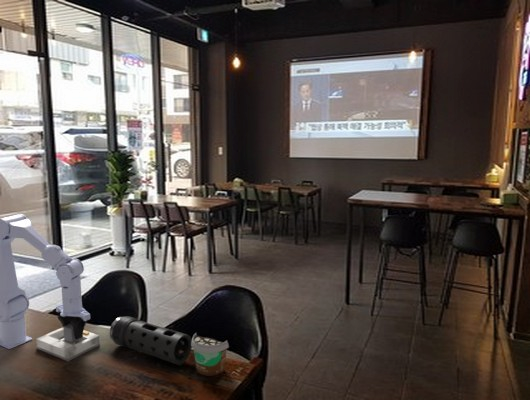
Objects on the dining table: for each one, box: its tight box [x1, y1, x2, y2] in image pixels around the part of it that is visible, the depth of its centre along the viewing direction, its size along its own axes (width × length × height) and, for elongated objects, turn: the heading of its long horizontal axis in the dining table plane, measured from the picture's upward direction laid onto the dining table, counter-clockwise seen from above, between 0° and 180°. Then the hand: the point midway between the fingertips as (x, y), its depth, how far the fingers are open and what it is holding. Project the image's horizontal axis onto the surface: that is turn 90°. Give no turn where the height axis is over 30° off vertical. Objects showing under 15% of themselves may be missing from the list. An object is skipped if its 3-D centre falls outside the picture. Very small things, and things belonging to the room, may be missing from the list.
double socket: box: [35, 326, 101, 362], centre depth 138 cm, size 16×12×4 cm
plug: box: [64, 323, 83, 345], centre depth 136 cm, size 4×4×6 cm
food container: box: [191, 332, 230, 377], centre depth 124 cm, size 12×6×10 cm, turn 65°
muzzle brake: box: [109, 315, 193, 367], centre depth 134 cm, size 10×28×10 cm, turn 61°
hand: (74, 336), depth 136 cm, fingers closed on plug, 4 cm apart
